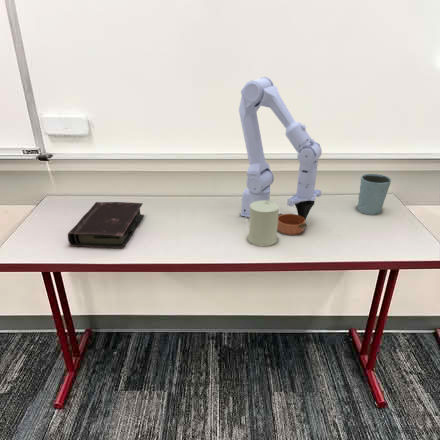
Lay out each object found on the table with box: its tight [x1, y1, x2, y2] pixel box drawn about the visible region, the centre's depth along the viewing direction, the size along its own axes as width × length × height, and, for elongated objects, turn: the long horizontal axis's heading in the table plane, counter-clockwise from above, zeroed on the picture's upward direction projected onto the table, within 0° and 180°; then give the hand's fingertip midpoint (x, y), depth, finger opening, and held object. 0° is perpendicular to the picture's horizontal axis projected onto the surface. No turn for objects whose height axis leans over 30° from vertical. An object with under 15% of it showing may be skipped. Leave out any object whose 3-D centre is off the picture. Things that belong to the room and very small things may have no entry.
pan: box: [277, 212, 308, 236], centre depth 142 cm, size 9×12×4 cm
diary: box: [67, 201, 145, 249], centre depth 141 cm, size 19×25×5 cm
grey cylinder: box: [356, 173, 392, 216], centre depth 153 cm, size 10×10×12 cm
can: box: [247, 200, 280, 247], centre depth 133 cm, size 9×9×12 cm
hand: (302, 220), depth 145 cm, fingers closed
